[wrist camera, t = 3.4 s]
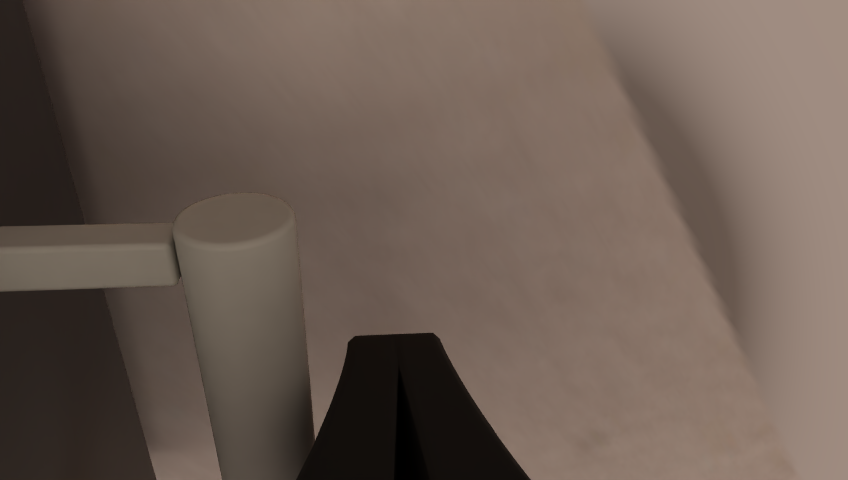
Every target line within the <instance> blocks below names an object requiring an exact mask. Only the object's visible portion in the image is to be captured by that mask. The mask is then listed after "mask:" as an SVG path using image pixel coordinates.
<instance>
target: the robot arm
mask: <svg viewBox="0 0 848 480" xmlns="http://www.w3.org/2000/svg"><path fill="white" fill-rule="evenodd" d="M296 480H530V478H529V477H528V476H527V474H526V473H525V472H524V471H523V469H522V468H521V467H520V465H519V464H518V463H517V462H516V460H515V459H514V458H513V456H512V455H511V454H510V452H509V451H508V450H507V448H506V447H505V446H504V444H503V443H502V441H501V440H500V439H499V437H498V436H497V434H496V433H495V431H494V430H493V428H492V427H491V426H490V424H489V423H488V421H487V420H486V418H485V417H484V415H483V414H482V412H481V411H480V409H479V408H478V407H477V405H476V403H475V402H474V400H473V399H472V397H471V396H470V394H469V392H468V391H467V389H466V387H465V386H464V384H463V382H462V381H461V379H460V377H459V376H458V374H457V372H456V370H455V369H454V367H453V365H452V363H451V361H450V359H449V358H448V356H447V354H446V352H445V350H444V348H443V345H442V343H441V341H440V339H439V338H438V337H437V336H436V335H435V334H434V333H416V334H391V335H366V336H355V337H354V338H352V339H351V340H350V341H349V342H348V347H347V354H346V358H345V362H344V366H343V370H342V373H341V376H340V380H339V382H338V385H337V388H336V391H335V394H334V397H333V399H332V402H331V404H330V407H329V409H328V412H327V414H326V416H325V419H324V421H323V424H322V426H321V428H320V431H319V433H318V436H317V438H316V440H315V442H314V445H313V447H312V449H311V451H310V453H309V455H308V457H307V459H306V461H305V463H304V465H303V467H302V469H301V471H300V473H299V475H298V477H297V479H296Z"/></svg>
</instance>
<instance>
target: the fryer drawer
mask: <svg viewBox="0 0 848 480" xmlns="http://www.w3.org/2000/svg"><path fill="white" fill-rule="evenodd" d="M180 277H182V282H183V287H184V292H185V297H186V302H187V307H188V312H189V317H190V322H191V327H192V332H193V337H194V342H195V346H196V351H197V356H198V361H199V366H200V371H201V376H202V381H203V386H204V391H205V396H206V401H207V406H208V411H209V416H210V421H211V426H212V431H213V436H214V441H215V446H216V451H217V456H218V461H219V466H220V471H221V476H222V480H296V479H297V477H298V475H299V473H300V471H301V469H302V467H303V465H304V463H305V461H306V459H307V457H308V455H309V453H310V451H311V449H312V447H313V445H314V442H315V435H314V423H313V412H312V400H311V389H310V377H309V366H308V354H307V343H306V331H305V320H304V308H303V296H302V285H301V273H300V262H299V250H298V239H297V227H296V217H295V213H294V212H293V210H292V208H291V206H290V205H289V204H288V203H286V202H285V201H283V200H281V199H279V198H277V197H274V196H270V195H266V194H259V193H232V194H224V195H219V196H214V197H210V198H207V199H204V200H201V201H199V202H196V203H194V204H192V205H190V206H189V207H187V208H185V209H184V210H183V211H181V212H180V213H179V214H178V216H177V217H176V219H175V221H174V223H134V224H90V225H85V223H84V219H83V215H82V212H81V208H80V205H79V201H78V197H77V194H76V190H75V187H74V183H73V180H72V176H71V172H70V169H69V165H68V162H67V158H66V155H65V151H64V147H63V144H62V140H61V137H60V133H59V129H58V126H57V122H56V119H55V115H54V112H53V108H52V104H51V101H50V97H49V94H48V90H47V86H46V83H45V79H44V76H43V72H42V69H41V65H40V61H39V58H38V54H37V51H36V47H35V43H34V40H33V36H32V33H31V29H30V26H29V22H28V18H27V15H26V11H25V8H24V4H23V0H0V480H156V477H155V473H154V470H153V466H152V463H151V459H150V455H149V452H148V448H147V445H146V441H145V438H144V434H143V430H142V427H141V423H140V420H139V416H138V412H137V409H136V405H135V402H134V398H133V395H132V391H131V387H130V384H129V380H128V377H127V373H126V369H125V366H124V362H123V359H122V355H121V352H120V348H119V344H118V341H117V337H116V334H115V330H114V326H113V323H112V319H111V316H110V312H109V309H108V305H107V301H106V298H105V294H104V291H103V288H127V287H158V286H173V285H176V284H177V283H178V281H179V279H180Z"/></svg>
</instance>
